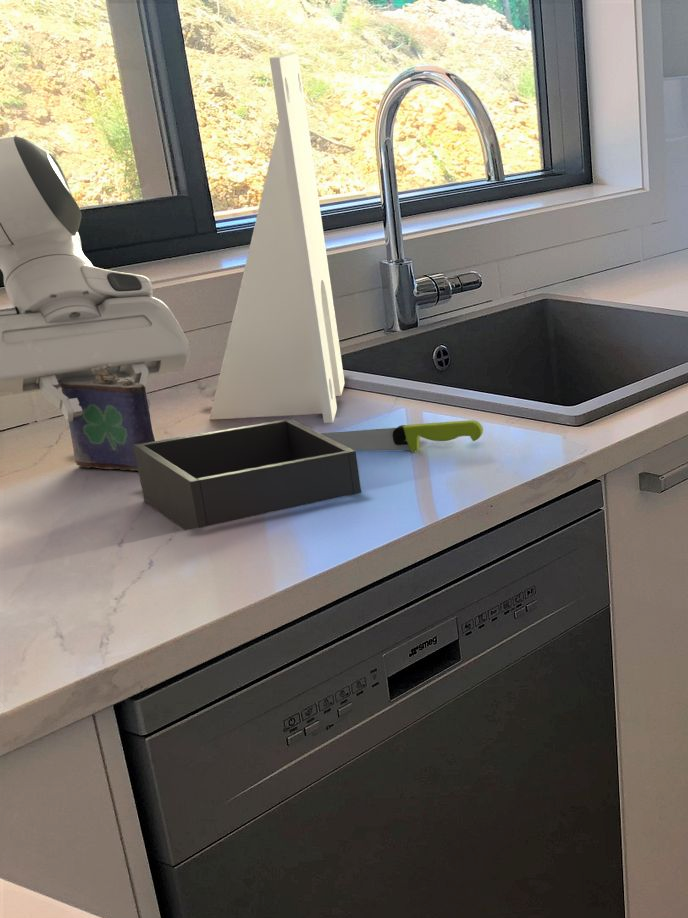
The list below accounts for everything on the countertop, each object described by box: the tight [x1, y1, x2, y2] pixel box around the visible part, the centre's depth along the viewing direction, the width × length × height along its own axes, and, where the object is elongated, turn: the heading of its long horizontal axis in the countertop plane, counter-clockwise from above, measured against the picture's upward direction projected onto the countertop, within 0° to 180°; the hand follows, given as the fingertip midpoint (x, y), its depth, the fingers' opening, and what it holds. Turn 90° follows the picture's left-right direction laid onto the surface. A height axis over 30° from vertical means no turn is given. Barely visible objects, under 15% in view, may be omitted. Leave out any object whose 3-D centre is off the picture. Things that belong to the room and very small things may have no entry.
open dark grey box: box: [133, 418, 362, 531], centre depth 136 cm, size 16×16×6 cm
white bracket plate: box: [209, 52, 346, 424], centre depth 164 cm, size 20×14×40 cm
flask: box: [61, 364, 156, 471], centre depth 146 cm, size 9×3×11 cm, turn 81°
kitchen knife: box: [319, 419, 484, 453], centre depth 154 cm, size 22×1×3 cm, turn 90°
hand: (110, 412), depth 145 cm, fingers closed on flask, 5 cm apart
